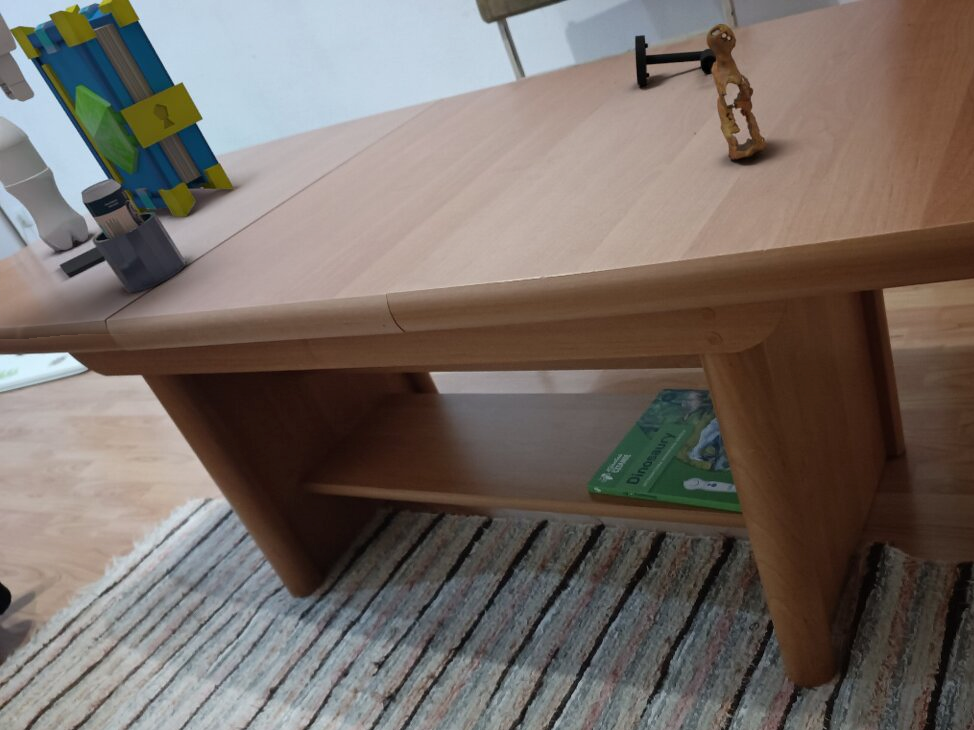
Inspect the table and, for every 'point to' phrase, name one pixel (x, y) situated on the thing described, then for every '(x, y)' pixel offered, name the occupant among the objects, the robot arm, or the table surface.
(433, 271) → the table surface
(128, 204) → the supplement bottle
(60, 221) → the water bottle
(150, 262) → the cup
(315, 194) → the table surface
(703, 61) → the light fixture
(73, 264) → the mat
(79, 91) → the decorative book
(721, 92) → the figurine
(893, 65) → the table surface
